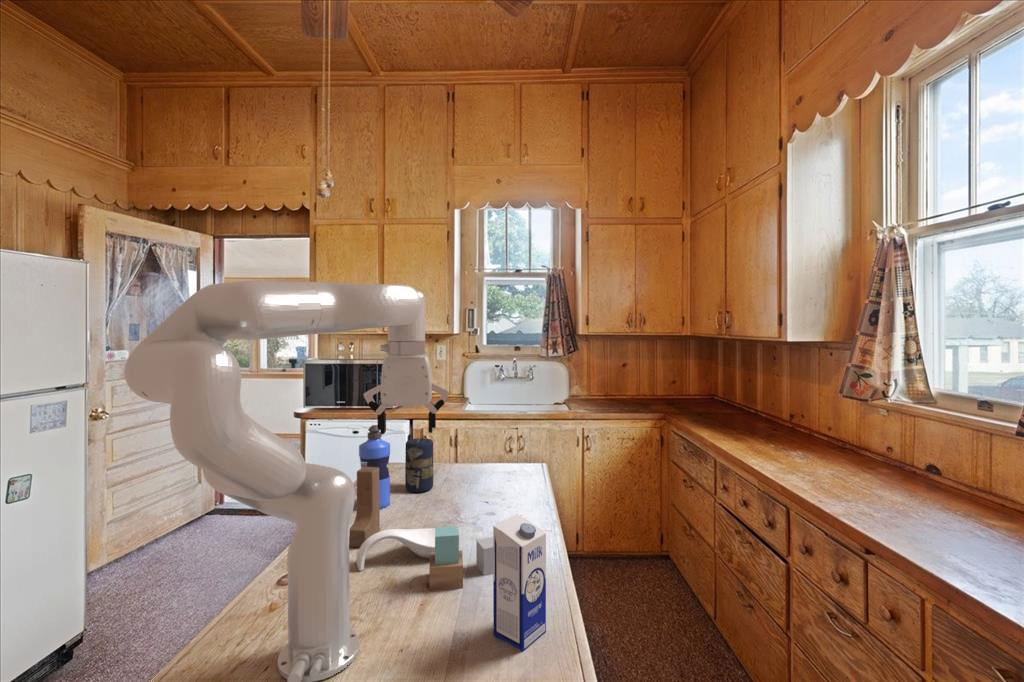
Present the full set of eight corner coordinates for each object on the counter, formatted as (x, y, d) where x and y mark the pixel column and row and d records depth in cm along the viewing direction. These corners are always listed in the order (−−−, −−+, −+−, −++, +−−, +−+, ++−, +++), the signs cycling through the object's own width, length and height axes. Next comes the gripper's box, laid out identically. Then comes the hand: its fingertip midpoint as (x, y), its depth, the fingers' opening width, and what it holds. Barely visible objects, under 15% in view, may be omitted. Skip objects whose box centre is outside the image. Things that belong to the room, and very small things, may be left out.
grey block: (504, 571, 106) (504, 545, 106) (483, 575, 104) (483, 549, 104) (496, 561, 110) (496, 536, 110) (476, 565, 108) (476, 539, 108)
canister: (400, 492, 158) (399, 439, 157) (413, 483, 167) (413, 433, 166) (425, 495, 155) (425, 441, 155) (438, 486, 164) (438, 435, 164)
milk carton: (517, 617, 89) (517, 512, 88) (546, 631, 84) (546, 521, 84) (492, 635, 83) (492, 524, 83) (522, 652, 79) (522, 534, 79)
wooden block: (365, 548, 117) (364, 477, 116) (348, 547, 117) (347, 476, 117) (380, 533, 126) (379, 466, 125) (364, 532, 126) (363, 466, 126)
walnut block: (463, 589, 99) (463, 565, 99) (429, 591, 98) (429, 568, 98) (461, 572, 106) (461, 550, 106) (430, 574, 105) (430, 552, 105)
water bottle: (383, 497, 153) (383, 421, 152) (395, 506, 145) (394, 426, 145) (355, 504, 147) (354, 425, 147) (365, 513, 140) (365, 430, 139)
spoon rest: (447, 538, 123) (447, 511, 123) (463, 557, 113) (463, 528, 113) (353, 558, 112) (353, 528, 112) (362, 581, 102) (361, 548, 102)
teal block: (458, 563, 100) (458, 535, 100) (435, 564, 99) (435, 536, 99) (457, 552, 105) (457, 525, 105) (435, 553, 104) (435, 527, 104)
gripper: (360, 351, 92) (360, 437, 92) (449, 350, 94) (449, 435, 95) (366, 349, 99) (367, 429, 100) (448, 349, 102) (448, 427, 102)
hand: (407, 432), depth 97 cm, fingers open, 9 cm apart
